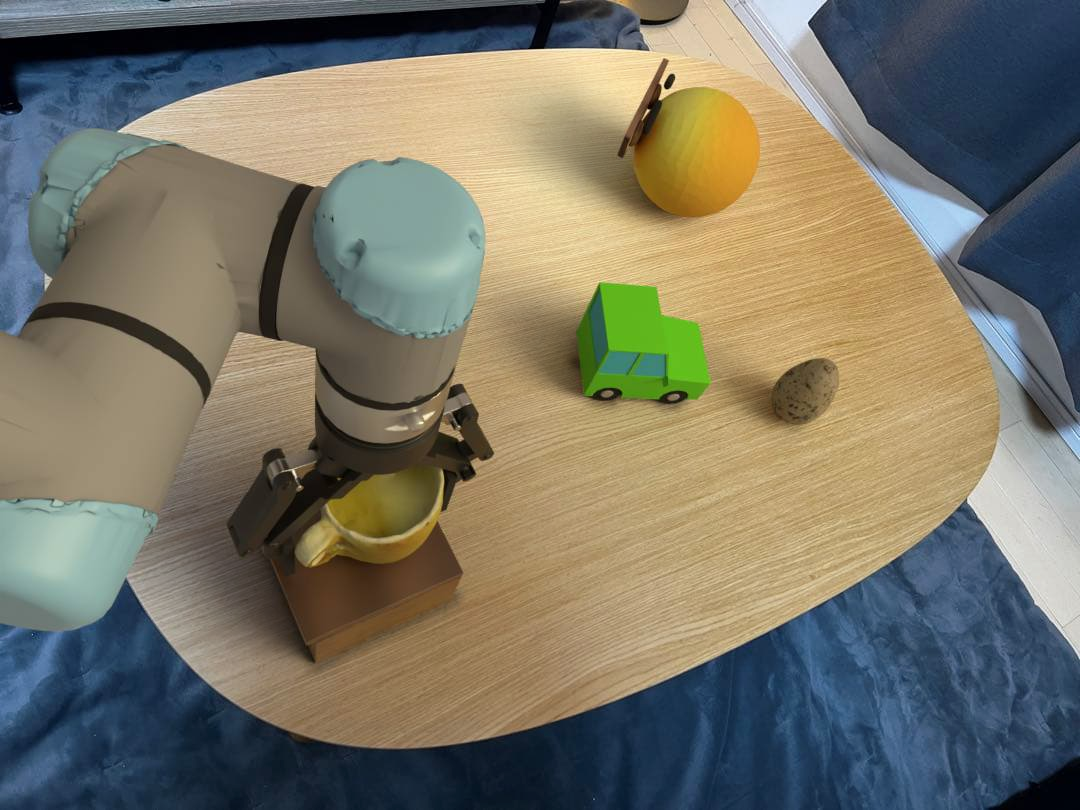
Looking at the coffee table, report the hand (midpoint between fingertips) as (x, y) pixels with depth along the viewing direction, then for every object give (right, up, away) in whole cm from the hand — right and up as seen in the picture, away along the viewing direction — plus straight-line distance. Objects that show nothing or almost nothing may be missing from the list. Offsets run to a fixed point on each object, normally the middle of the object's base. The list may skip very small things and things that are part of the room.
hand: (362, 527), depth 67 cm
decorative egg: (+42, +9, +28) cm, 51 cm away
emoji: (+31, +36, +41) cm, 63 cm away
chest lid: (-1, -1, +2) cm, 3 cm away
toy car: (+25, +13, +26) cm, 38 cm away
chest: (-2, -5, +8) cm, 10 cm away
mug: (0, 0, +1) cm, 1 cm away
